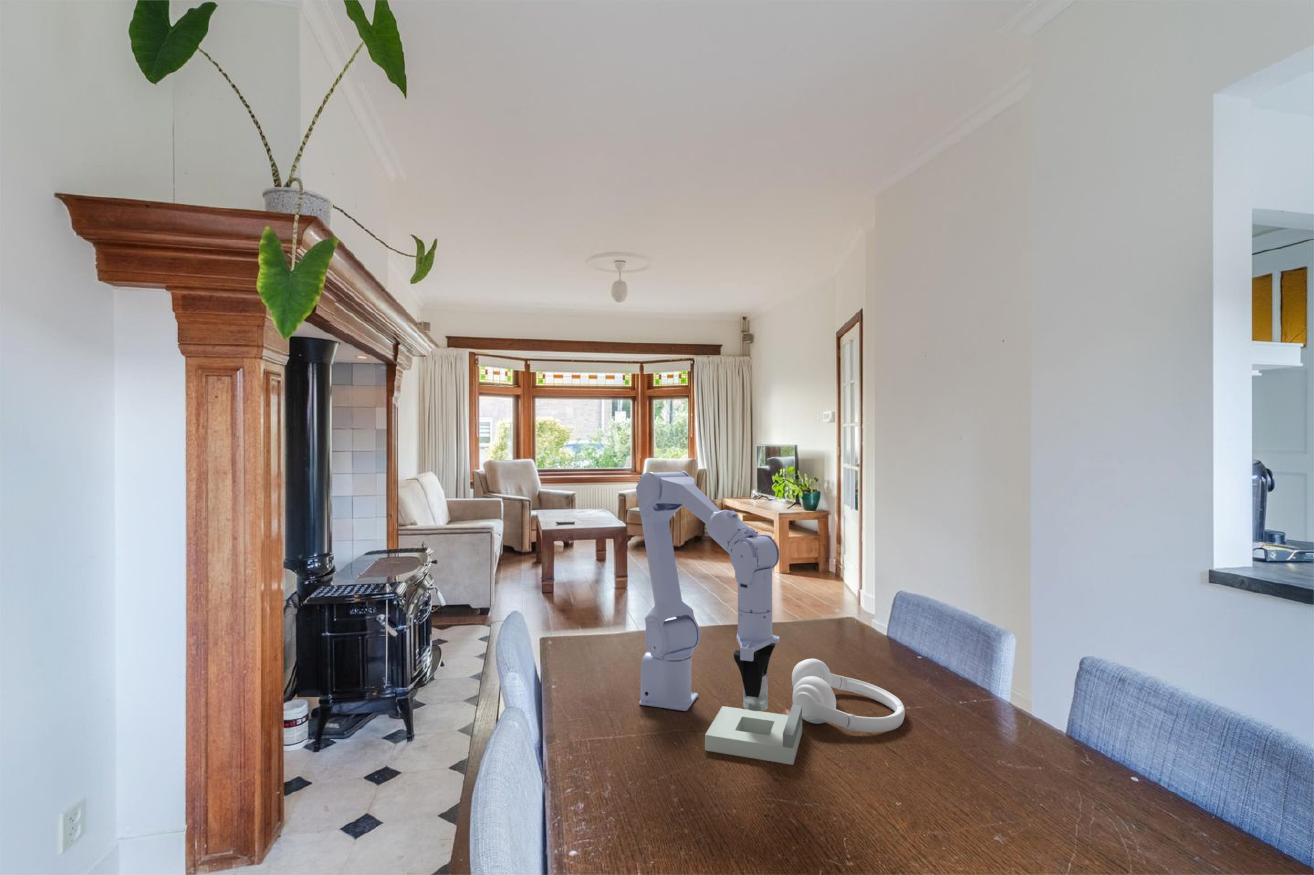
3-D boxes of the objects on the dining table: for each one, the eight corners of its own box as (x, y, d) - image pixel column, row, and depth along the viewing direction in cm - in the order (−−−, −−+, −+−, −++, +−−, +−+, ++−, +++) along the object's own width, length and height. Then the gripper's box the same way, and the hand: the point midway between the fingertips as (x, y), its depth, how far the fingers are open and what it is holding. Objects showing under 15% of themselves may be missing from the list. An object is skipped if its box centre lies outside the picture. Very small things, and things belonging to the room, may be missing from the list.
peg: (740, 708, 104) (740, 677, 105) (747, 699, 108) (747, 670, 108) (763, 712, 103) (763, 681, 103) (770, 703, 106) (770, 673, 106)
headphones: (790, 729, 109) (912, 752, 105) (795, 683, 109) (917, 705, 105) (789, 687, 128) (893, 705, 124) (793, 648, 128) (897, 665, 124)
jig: (705, 750, 102) (705, 722, 102) (722, 720, 113) (722, 694, 113) (793, 764, 97) (793, 735, 97) (802, 731, 109) (802, 705, 109)
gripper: (772, 622, 97) (772, 711, 97) (785, 600, 111) (785, 678, 111) (727, 618, 100) (727, 705, 100) (745, 597, 113) (745, 674, 113)
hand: (755, 690), depth 105 cm, fingers closed on peg, 4 cm apart
